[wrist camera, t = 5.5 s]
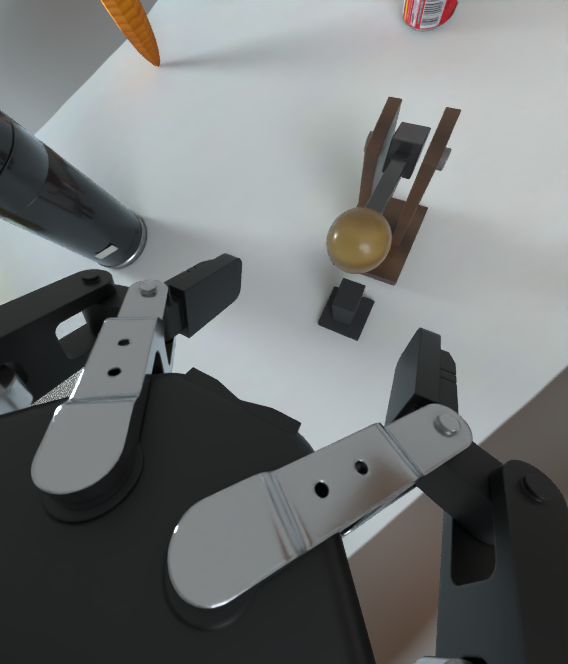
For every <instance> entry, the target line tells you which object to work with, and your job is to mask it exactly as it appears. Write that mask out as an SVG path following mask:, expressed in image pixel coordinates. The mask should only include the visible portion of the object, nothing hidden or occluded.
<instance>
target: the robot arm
mask: <svg viewBox="0 0 568 664" xmlns="http://www.w3.org/2000/svg"><path fill="white" fill-rule="evenodd" d="M0 219H2V220H4V221H7V222H9V223H11V224H13V225H16V226H18V227H20V228H22V229H24V230H27V231H29V232H31V233H33V234H35V235H38V236H40V237H42V238H44V239H46V240H49V241H51V242H53V243H55V244H57V245H60V246H62V247H64V248H66V249H68V250H71V251H73V252H75V253H77V254H79V255H82V256H84V257H86V258H88V259H90V260H93V261H95V262H97V263H98V264H100V265H102V266H104V267H106V268H109V269H121V268H124V267H126V266H128V265H130V264H131V263H133V262H134V261H135V260H136V259H137V258H138V257H139V255H140V254H141V252H142V251H143V249H144V246H145V243H146V237H147V232H146V227H145V224H144V222H143V221H142V219H141V218H140V217H139V216H138V215H136V214H135V213H134V212H132V211H130V210H129V209H127V208H126V207H125V206H124V205H122V204H121V203H120V202H119V201H117V200H116V199H115V198H114V197H112V196H111V195H110V194H108V193H107V192H106V191H105V190H103V189H102V188H101V187H99V186H98V185H97V184H96V183H94V182H93V181H92V180H90V179H89V178H88V177H87V176H85V175H84V174H83V173H81V172H80V171H79V170H78V169H76V168H75V167H74V166H72V165H71V164H70V163H69V162H67V161H66V160H65V159H63V158H62V157H61V156H60V155H58V154H57V153H56V152H54V151H53V150H52V149H51V148H49V147H48V146H47V145H45V144H44V143H43V142H42V141H40V140H39V139H37V138H36V137H35V136H34V135H32V134H31V133H30V132H28V131H27V130H26V129H25V128H23V127H22V126H21V125H19V124H18V123H17V122H16V121H14V120H13V119H12V118H10V117H9V116H8V115H7V114H5V113H4V112H3V111H1V110H0ZM241 273H242V261H241V259H240V258H237V257H234V256H232V255H229V254H226V253H224V254H222V255H220V256H218V257H217V258H215V259H213V260H208V261H203V262H200V263H198V264H197V265H195V266H193V268H192V267H191V268H189V269H188V270H186V271H184V272H182V273H180V274H178V275H177V276H175V277H173V278H171V279H169V280H167V281H166V282H164V283H163V282H160V281H156V280H144V281H139V282H136V283H134V284H132V285H131V286H130V287H127V286H121V285H116V284H114V281H113V278H112V275H111V274H110V273H109V272H107V271H104V270H99V269H91V270H84V271H80V272H78V273H75V274H73V275H70V276H68V277H66V278H63V279H61V280H59V281H56V282H54V283H52V284H49V285H47V286H45V287H42V288H40V289H38V290H35V291H33V292H31V293H29V294H26V295H24V296H22V297H19V298H17V299H15V300H12V301H10V302H8V303H5V304H3V305H1V306H0V664H376V662H375V659H374V655H373V651H372V648H371V644H370V640H369V637H368V633H367V629H366V626H365V622H364V618H363V615H362V611H361V608H360V604H359V600H358V597H357V593H356V589H355V586H354V582H353V578H352V575H351V571H350V568H349V564H348V560H347V556H346V553H345V549H344V545H343V542H342V538H343V537H345V536H346V535H347V534H349V533H350V532H352V531H353V530H355V529H356V528H358V527H359V526H361V525H362V524H363V523H365V522H366V521H368V520H369V519H370V518H372V517H373V516H374V515H376V514H377V513H379V512H380V511H382V510H383V509H385V508H386V507H387V506H389V505H390V504H392V503H393V502H395V501H396V500H398V499H399V498H401V497H402V496H404V495H405V494H407V493H408V492H410V491H411V490H413V489H414V488H415V487H418V488H419V489H421V490H422V491H423V492H424V493H425V494H426V495H427V496H429V497H430V498H431V499H432V500H433V501H434V502H435V503H436V504H438V505H439V506H440V507H441V508H442V509H443V510H444V516H443V533H442V551H441V568H440V569H441V570H440V586H439V603H438V620H437V639H436V656H424V657H422V658H419V659H418V660H417V661H416V662H415V663H414V664H568V507H567V504H566V501H565V499H564V497H563V495H562V494H561V492H560V490H559V489H558V488H557V487H556V485H555V484H554V483H553V482H552V481H551V480H550V479H549V478H548V477H547V476H546V475H545V474H544V473H542V472H541V471H540V470H538V469H537V468H535V467H534V466H532V465H530V464H528V463H526V462H523V461H520V460H510V461H508V462H506V463H504V464H502V463H501V462H499V461H498V460H497V459H495V458H494V457H493V456H491V455H490V454H488V453H487V452H486V451H484V450H483V449H481V448H480V447H479V446H478V445H476V444H475V443H474V442H473V441H472V439H473V438H472V432H471V430H470V427H469V426H468V424H467V423H466V421H465V420H464V419H463V418H462V417H461V416H460V415H459V414H458V398H457V385H456V383H457V381H456V376H455V375H456V365H455V362H454V360H453V359H452V357H451V355H450V353H449V352H446V351H444V350H441V336H440V335H439V334H436V333H434V332H431V331H428V330H426V329H423V328H419V329H418V330H417V331H416V333H415V334H414V336H413V338H412V339H411V341H410V342H409V344H408V345H407V347H406V349H405V350H404V352H403V353H402V355H401V357H400V359H399V361H398V363H397V366H396V369H395V374H394V379H393V384H392V390H391V395H390V400H389V405H388V410H387V416H386V421H385V426H382V424H381V423H375V424H372V425H370V426H368V427H366V428H364V429H362V430H360V431H358V432H355V433H353V434H351V435H349V436H347V437H345V438H343V439H341V440H339V441H336V442H334V443H332V444H330V445H328V446H326V447H324V448H322V449H320V450H317V451H314V450H313V448H312V447H311V446H310V444H309V443H308V442H307V441H306V440H305V438H304V437H303V436H302V435H300V434H299V433H298V431H299V428H300V426H301V423H300V422H298V421H297V420H295V419H293V418H291V417H289V416H287V415H285V414H283V413H281V412H279V411H277V410H275V409H273V408H270V407H266V406H262V405H258V404H254V403H250V402H246V401H242V400H240V399H238V398H237V397H236V396H235V395H234V394H233V393H231V392H230V391H229V390H228V389H227V388H226V387H225V386H224V385H223V384H221V383H220V382H219V381H218V380H217V379H215V378H213V377H211V376H209V375H207V374H205V373H203V372H201V371H199V370H197V369H195V368H192V369H190V370H189V371H188V372H187V373H186V374H180V373H172V368H173V361H174V353H175V345H176V338H175V336H176V335H178V334H179V333H180V334H182V335H184V336H186V337H188V338H190V337H191V336H193V335H194V334H195V333H196V332H198V331H199V330H200V329H201V328H202V327H204V326H205V325H206V324H207V323H208V322H210V321H211V320H212V319H213V318H215V317H216V316H217V315H218V314H219V313H221V312H222V311H223V310H224V309H225V308H227V307H228V306H229V305H230V304H232V303H233V302H234V301H235V300H236V299H237V297H238V296H239V293H240V289H241ZM81 311H82V313H83V315H84V318H85V320H86V322H87V324H85V325H83V326H81V327H80V328H78V329H76V330H75V331H73V332H71V333H70V334H68V335H66V336H65V337H63V338H61V339H60V340H58V338H57V337H56V334H55V331H56V328H57V326H58V325H59V324H60V323H61V322H63V321H65V320H66V319H68V318H70V317H72V316H74V315H76V314H77V313H79V312H81ZM83 367H84V369H83V371H82V373H81V375H80V378H79V380H78V382H77V385H76V387H75V389H74V391H73V394H72V396H69V397H65V398H62V399H58V400H54V401H50V402H46V403H42V404H39V405H35V406H31V407H29V406H30V405H32V404H33V403H34V402H36V401H37V400H38V399H40V398H41V397H43V396H44V395H45V394H47V393H48V392H50V391H51V390H52V389H54V388H55V387H57V386H58V385H59V384H61V383H62V382H63V381H65V380H66V379H68V378H69V377H70V376H72V375H73V374H75V373H76V372H77V371H79V370H80V369H82V368H83Z"/></svg>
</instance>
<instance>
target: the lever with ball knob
mask: <svg viewBox="0 0 568 664" xmlns="http://www.w3.org/2000/svg"><path fill="white" fill-rule="evenodd" d="M430 130H431V128H430V127H425V126H420V125H415V124H410V123H405V122H401V124H400V126H399V127H398V129H397V131H396V132H395V134H394V136H393V137H392V139H391V142H390V146H389V149H388V152H387V156H386V159H385V162H384V166H383V169H382V172H383V175H382V177H381V179H380V181H379V182H378V184H377V186H376V188H375V190H374V191H373V193H372V195H371V197H370V199H369V200H368V202H367V204H366V206H365V207H357V208H353V209H350V210H347V211H346V212H344V213H342V214H341V215H340V216H339V217H337V218H336V220H335V221H334V222H333V223H332V225H331V227H330V229H329V231H328V235H327V241H326V246H327V252H328V255H329V257H330V259H331V261H332V262H333V263H334V264H335V266H337V267H338V268H339V269H341V270H343V271H345V272H347V273H352V274H360V273H365V272H368V271H371V270H373V269H374V268H376V267H377V266H378V265H379V264H381V263H382V262H383V260H384V259H385V258H386V256H387V254H388V252H389V250H390V247H391V241H392V234H391V229H390V226H389V224H388V222H387V220H386V219H385V217H384V216H383V214H384V211H385V209H386V207H387V205H388V203H389V201H390V199H391V197H392V195H393V193H394V191H395V189H396V187H397V185H398V183H399V181H400V179H401V177H402V178H406V179H410V177H411V175H412V173H413V171H414V169H415V167H416V164H417V162H418V160H419V157H420V155H421V152H422V150H423V147H424V145H425V142H426V140H427V137H428V135H429V132H430Z"/></svg>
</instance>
